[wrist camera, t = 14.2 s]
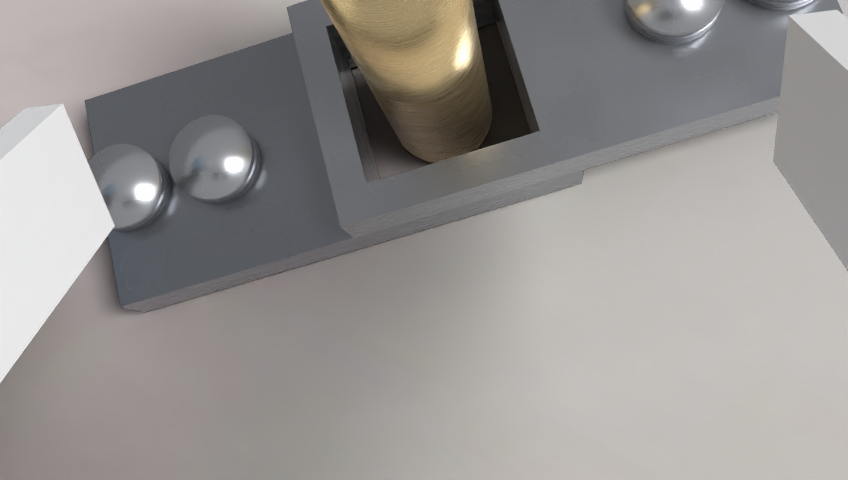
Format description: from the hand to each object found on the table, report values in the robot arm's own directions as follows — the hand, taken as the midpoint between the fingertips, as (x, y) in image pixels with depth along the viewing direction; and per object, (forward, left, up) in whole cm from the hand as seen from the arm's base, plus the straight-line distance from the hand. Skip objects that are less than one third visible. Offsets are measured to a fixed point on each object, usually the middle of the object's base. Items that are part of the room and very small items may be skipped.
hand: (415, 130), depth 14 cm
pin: (-1, +4, -10) cm, 11 cm away
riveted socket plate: (-1, +4, -10) cm, 11 cm away
